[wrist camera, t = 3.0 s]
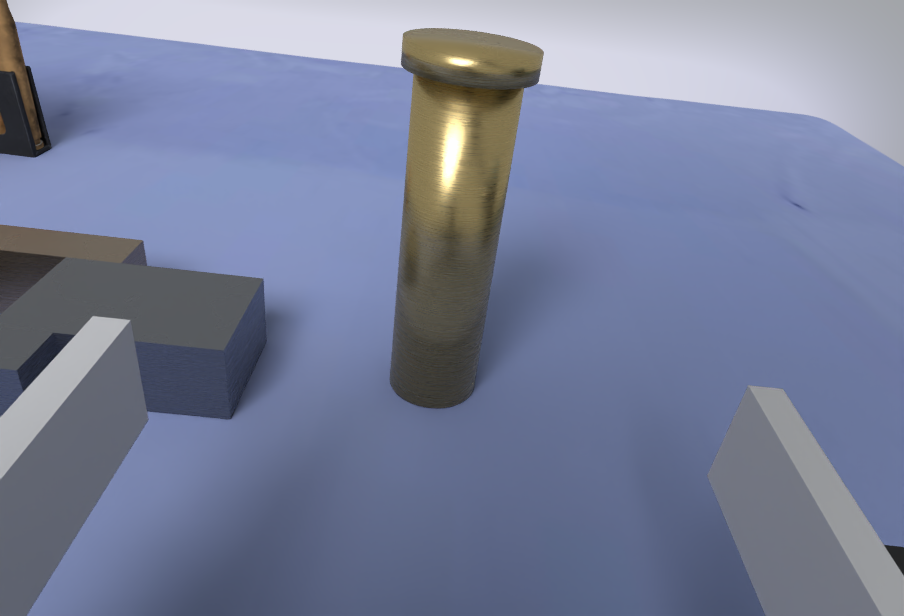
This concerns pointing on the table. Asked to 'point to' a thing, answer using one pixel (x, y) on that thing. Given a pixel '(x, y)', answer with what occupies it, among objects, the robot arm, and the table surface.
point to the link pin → (453, 203)
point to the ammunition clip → (18, 97)
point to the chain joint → (128, 317)
